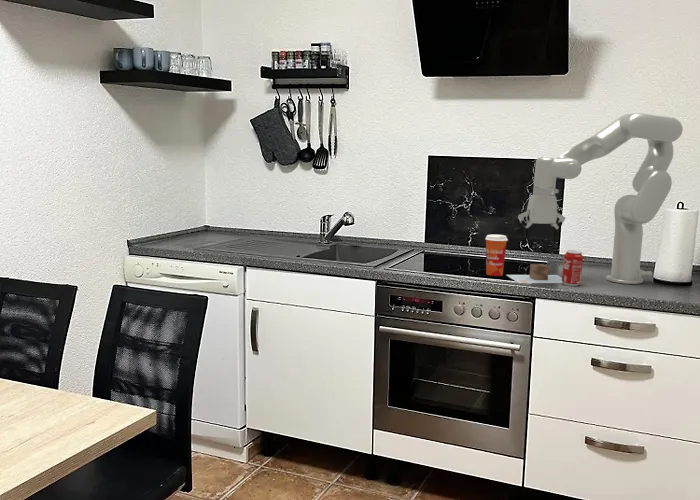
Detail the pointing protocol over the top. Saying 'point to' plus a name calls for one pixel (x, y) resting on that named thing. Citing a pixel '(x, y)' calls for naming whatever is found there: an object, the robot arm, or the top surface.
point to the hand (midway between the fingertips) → (539, 239)
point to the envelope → (528, 280)
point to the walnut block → (539, 272)
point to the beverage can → (572, 268)
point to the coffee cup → (495, 254)
